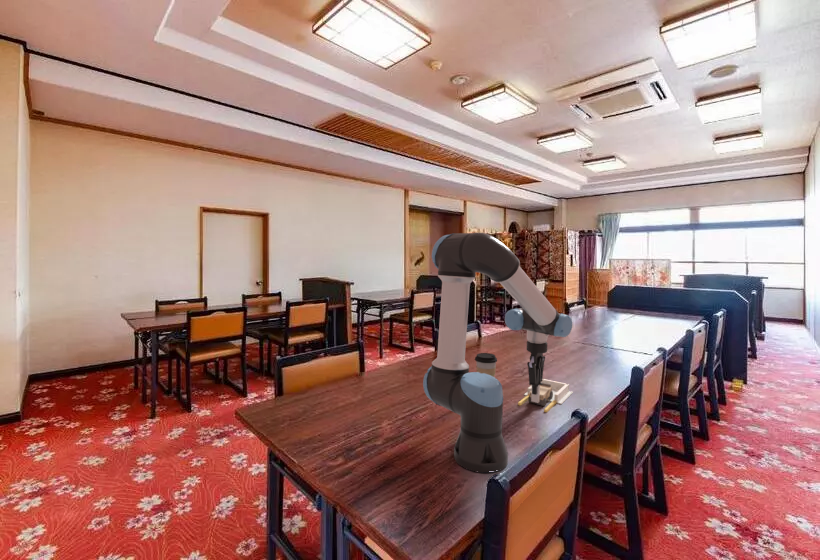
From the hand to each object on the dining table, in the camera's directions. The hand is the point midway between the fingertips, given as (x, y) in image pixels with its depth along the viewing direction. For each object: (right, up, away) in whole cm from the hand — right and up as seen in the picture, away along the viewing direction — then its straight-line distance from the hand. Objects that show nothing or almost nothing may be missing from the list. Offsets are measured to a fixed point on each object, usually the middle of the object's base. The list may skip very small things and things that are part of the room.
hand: (535, 401), depth 144 cm
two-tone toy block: (+4, -1, +5) cm, 6 cm away
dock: (+6, -1, +8) cm, 10 cm away
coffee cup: (-16, -1, +17) cm, 23 cm away
